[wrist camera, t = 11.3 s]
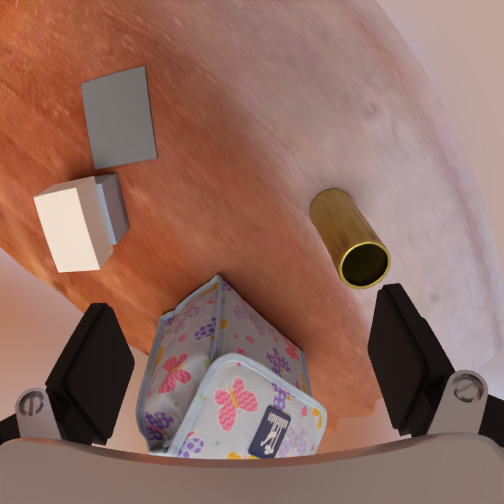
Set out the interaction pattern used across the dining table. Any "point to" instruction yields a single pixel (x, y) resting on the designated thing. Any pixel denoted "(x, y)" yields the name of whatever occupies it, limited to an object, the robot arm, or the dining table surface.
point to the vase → (349, 239)
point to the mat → (119, 118)
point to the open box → (112, 206)
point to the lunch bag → (226, 384)
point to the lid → (74, 225)
